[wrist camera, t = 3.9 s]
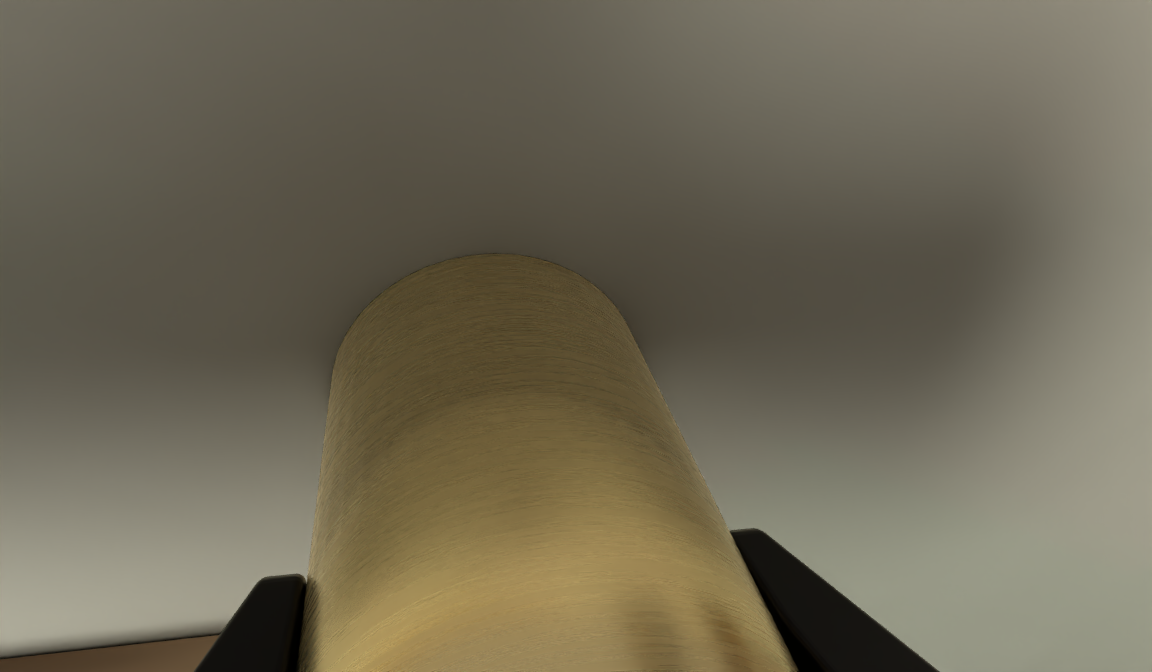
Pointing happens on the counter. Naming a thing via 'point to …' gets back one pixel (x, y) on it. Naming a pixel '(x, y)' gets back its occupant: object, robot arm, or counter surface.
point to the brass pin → (515, 494)
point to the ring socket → (119, 658)
